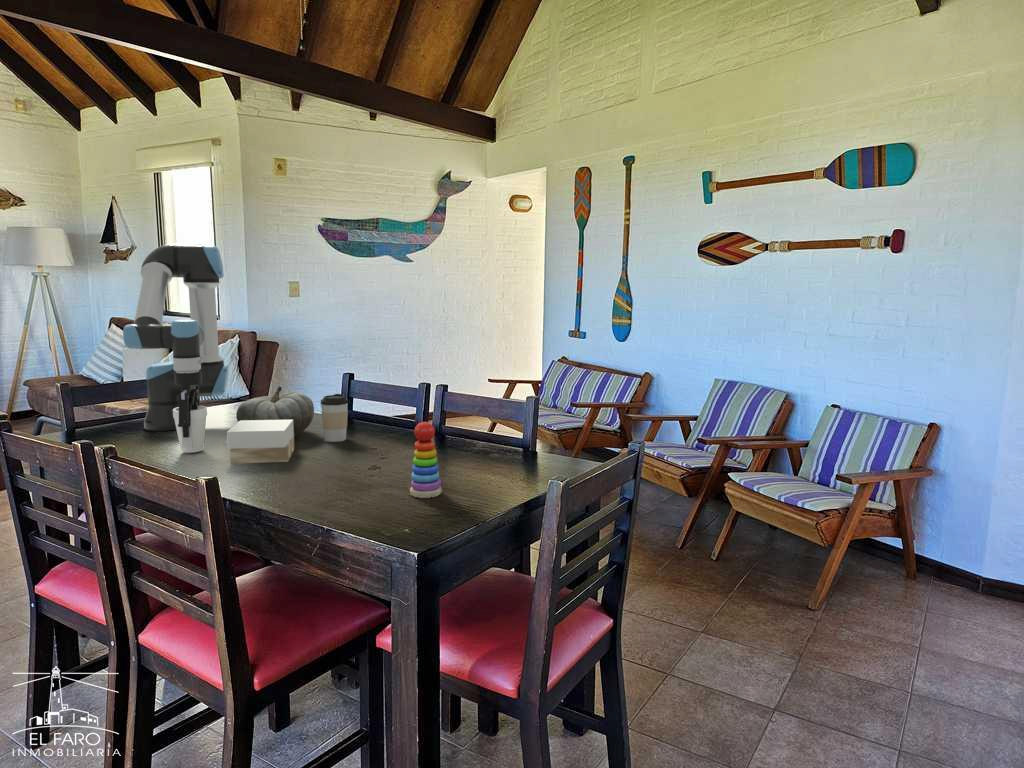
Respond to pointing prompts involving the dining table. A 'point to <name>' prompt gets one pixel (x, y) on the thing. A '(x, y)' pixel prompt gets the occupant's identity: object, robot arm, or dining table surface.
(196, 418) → the foam cup
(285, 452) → the birch base block
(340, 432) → the coffee cup
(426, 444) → the stacking toy
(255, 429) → the white square block
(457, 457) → the dining table surface
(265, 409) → the gourd
